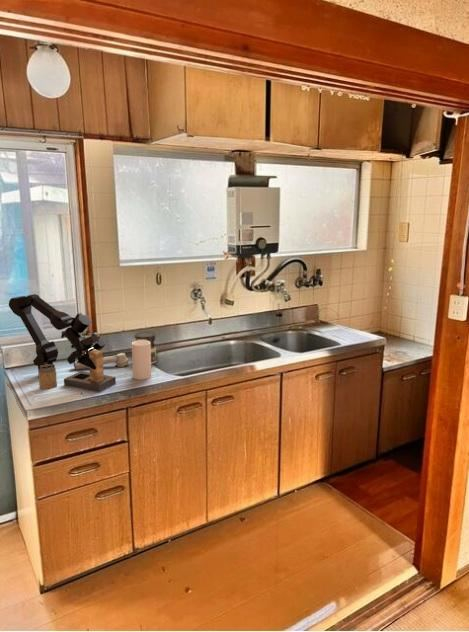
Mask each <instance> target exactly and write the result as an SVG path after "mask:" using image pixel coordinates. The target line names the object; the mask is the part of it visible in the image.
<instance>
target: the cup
mask: <svg viewBox="0 0 469 632" xmlns="http://www.w3.org/2000/svg"><path fill="white" fill-rule="evenodd" d="M131 356H132V359H131V360H132V361H131V362H132V365H131V366H132V378H133V379H135V380H140V381H141V380H148V379H150V378H151V377H152V364H151V346H150V341H146V340H138V341H135V340H134V341H132V342H131Z"/></svg>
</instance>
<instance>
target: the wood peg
mask: <svg viewBox="0 0 469 632" xmlns="http://www.w3.org/2000/svg"><path fill="white" fill-rule="evenodd" d="M103 357H104V355H103V350H93V351H90V352H89V358H90V359H91V361H92V362H93V363H94V365H95V367H96V369H95V370H94V369H92V368H90V367H89V368H88V369H89V372H90V381H92V382H100V381H102V380H104V375H105V374H104V364H103Z"/></svg>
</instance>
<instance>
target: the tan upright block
mask: <svg viewBox="0 0 469 632" xmlns="http://www.w3.org/2000/svg"><path fill="white" fill-rule="evenodd" d="M53 365H54V364H53ZM53 365H51V364H45V365H40V369H39V370H38V369H37V370H38V372H39V373H38V372H37V373H38V376H39V379H38V383H39V384H38V385H39V387H38V388H39V389H40V390H45V389H48V390H49V389H53V388H56V387H57V386H58V381H57V369H56V367H55V368H54V367H52V366H53ZM48 366H51V368H48ZM43 367H46V368H44V369H42V368H43Z"/></svg>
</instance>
